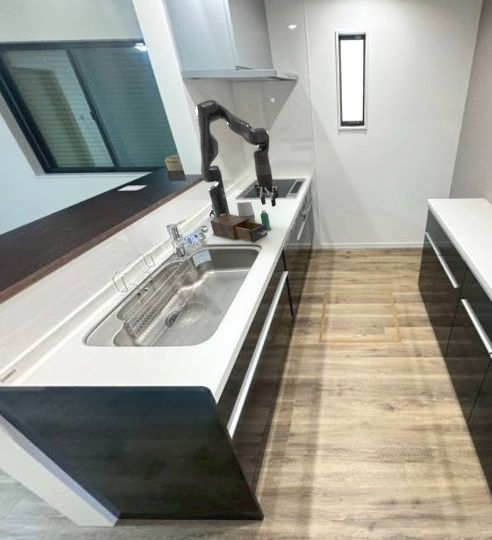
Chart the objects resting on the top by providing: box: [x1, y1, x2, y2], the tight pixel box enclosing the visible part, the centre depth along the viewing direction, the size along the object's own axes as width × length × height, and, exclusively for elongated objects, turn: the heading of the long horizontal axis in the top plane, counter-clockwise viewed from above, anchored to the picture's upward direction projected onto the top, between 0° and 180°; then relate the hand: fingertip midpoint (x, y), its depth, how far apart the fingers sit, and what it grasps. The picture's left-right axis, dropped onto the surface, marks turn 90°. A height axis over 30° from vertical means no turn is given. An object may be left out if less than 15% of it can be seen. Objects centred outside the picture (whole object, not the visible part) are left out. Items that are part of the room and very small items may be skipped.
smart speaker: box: [236, 201, 256, 222], centre depth 185 cm, size 10×9×14 cm
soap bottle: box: [260, 209, 271, 232], centre depth 174 cm, size 4×4×12 cm
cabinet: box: [210, 213, 249, 241], centre depth 171 cm, size 18×13×9 cm
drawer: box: [234, 221, 269, 244], centre depth 165 cm, size 20×11×7 cm, turn 61°
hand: (268, 205), depth 155 cm, fingers open, 6 cm apart
